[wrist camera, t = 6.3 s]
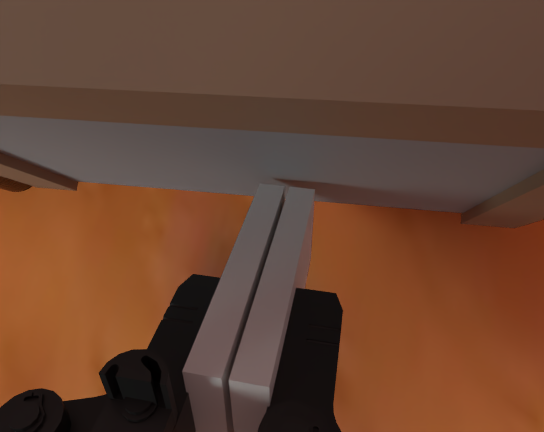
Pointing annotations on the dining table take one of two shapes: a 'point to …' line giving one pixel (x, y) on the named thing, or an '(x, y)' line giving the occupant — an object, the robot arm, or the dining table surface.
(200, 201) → the dining table surface
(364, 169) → the gate leaf
